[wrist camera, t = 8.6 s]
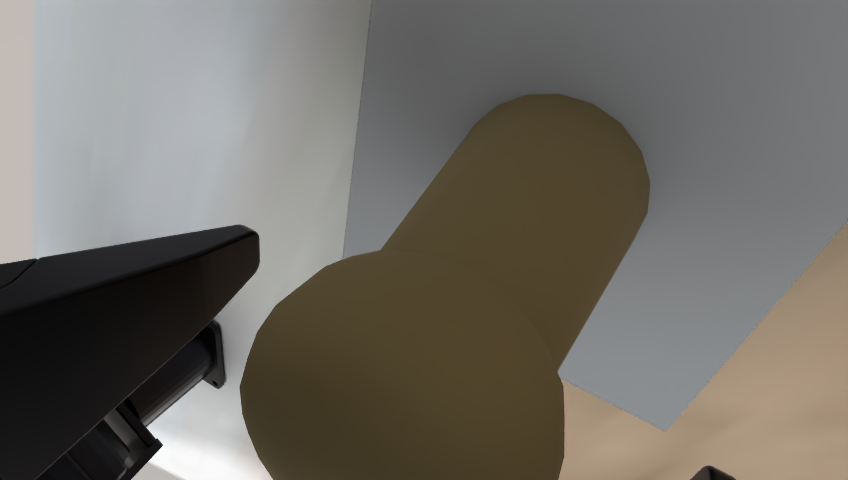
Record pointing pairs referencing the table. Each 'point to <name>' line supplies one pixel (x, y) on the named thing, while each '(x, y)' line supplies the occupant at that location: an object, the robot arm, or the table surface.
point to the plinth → (661, 148)
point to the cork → (455, 311)
